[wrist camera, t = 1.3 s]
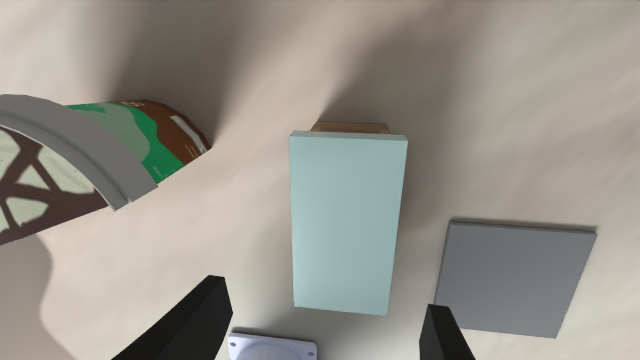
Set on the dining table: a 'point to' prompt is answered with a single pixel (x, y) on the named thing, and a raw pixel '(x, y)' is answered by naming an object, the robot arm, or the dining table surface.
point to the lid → (345, 218)
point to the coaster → (511, 276)
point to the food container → (84, 158)
